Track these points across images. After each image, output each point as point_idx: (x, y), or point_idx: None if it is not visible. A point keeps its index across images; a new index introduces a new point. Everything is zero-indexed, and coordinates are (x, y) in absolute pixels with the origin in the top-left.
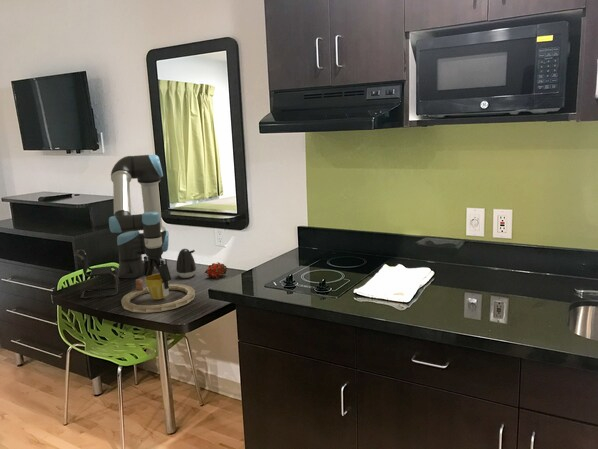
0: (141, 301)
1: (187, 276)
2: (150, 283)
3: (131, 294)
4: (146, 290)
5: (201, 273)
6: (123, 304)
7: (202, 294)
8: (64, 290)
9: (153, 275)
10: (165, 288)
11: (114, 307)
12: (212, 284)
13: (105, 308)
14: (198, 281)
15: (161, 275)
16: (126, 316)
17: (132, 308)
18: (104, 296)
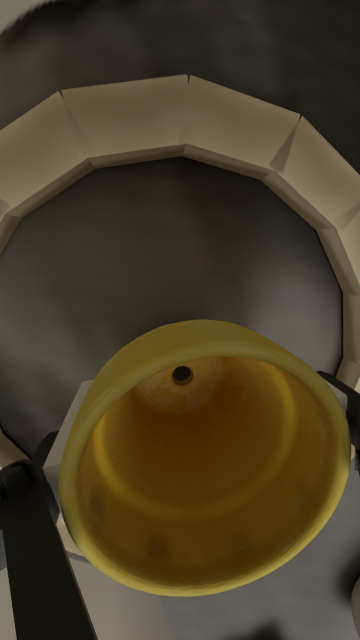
0: (240, 268)
1: (357, 588)
2: (134, 350)
3: (351, 243)
4: (354, 361)
5: (354, 632)
6: (211, 86)
7: (72, 555)
8: None
9: (330, 477)
10: (55, 434)
11: (285, 68)
12: (177, 627)
13: (322, 2)
14: (271, 596)
15: (22, 567)
16: (20, 23)
17: (65, 95)
18: None
